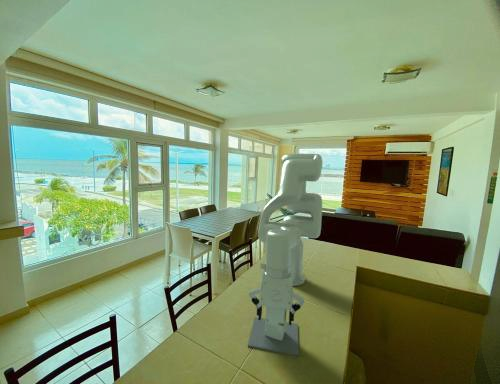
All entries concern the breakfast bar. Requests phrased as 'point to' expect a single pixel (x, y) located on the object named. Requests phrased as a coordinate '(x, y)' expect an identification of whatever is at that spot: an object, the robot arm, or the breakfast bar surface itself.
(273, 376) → the breakfast bar surface
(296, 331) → the mat
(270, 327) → the skincare box
